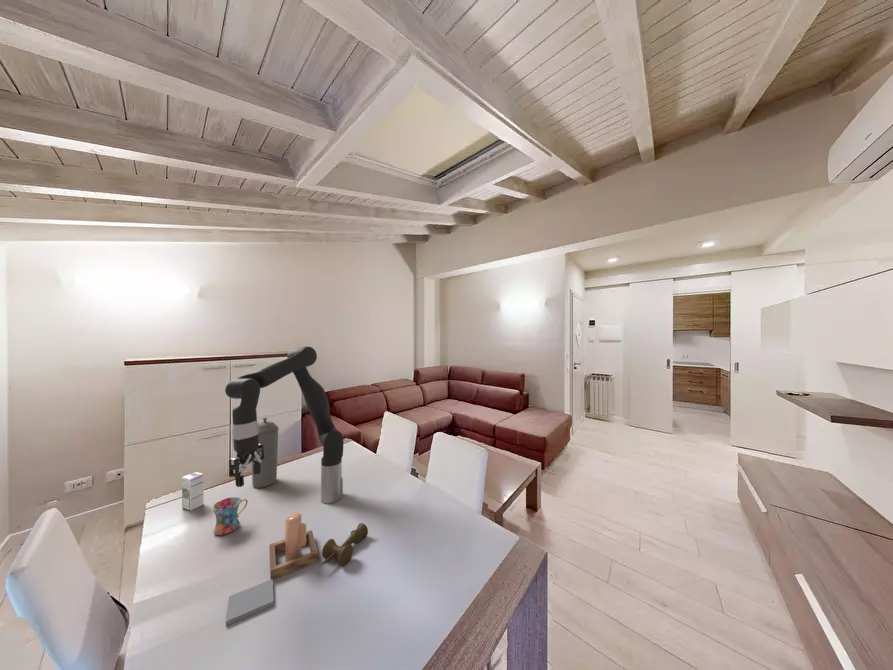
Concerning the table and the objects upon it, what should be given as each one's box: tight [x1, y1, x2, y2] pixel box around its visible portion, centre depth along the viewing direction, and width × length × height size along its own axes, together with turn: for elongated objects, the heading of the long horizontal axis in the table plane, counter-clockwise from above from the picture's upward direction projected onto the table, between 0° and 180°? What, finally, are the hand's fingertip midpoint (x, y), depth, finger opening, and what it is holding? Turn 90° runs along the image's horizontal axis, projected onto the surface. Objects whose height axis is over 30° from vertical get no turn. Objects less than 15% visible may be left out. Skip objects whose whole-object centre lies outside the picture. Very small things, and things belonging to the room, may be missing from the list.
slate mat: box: [225, 579, 275, 626], centre depth 84 cm, size 11×9×1 cm
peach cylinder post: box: [284, 512, 307, 562], centre depth 101 cm, size 7×5×14 cm
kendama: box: [321, 522, 369, 567], centre depth 103 cm, size 6×10×20 cm
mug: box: [211, 496, 248, 536], centre depth 117 cm, size 12×9×11 cm
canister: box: [251, 417, 279, 489], centre depth 153 cm, size 13×13×35 cm
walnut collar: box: [269, 529, 319, 580], centre depth 101 cm, size 14×14×3 cm
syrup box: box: [181, 471, 205, 512], centre depth 132 cm, size 6×6×14 cm
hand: (249, 479), depth 102 cm, fingers open, 8 cm apart
